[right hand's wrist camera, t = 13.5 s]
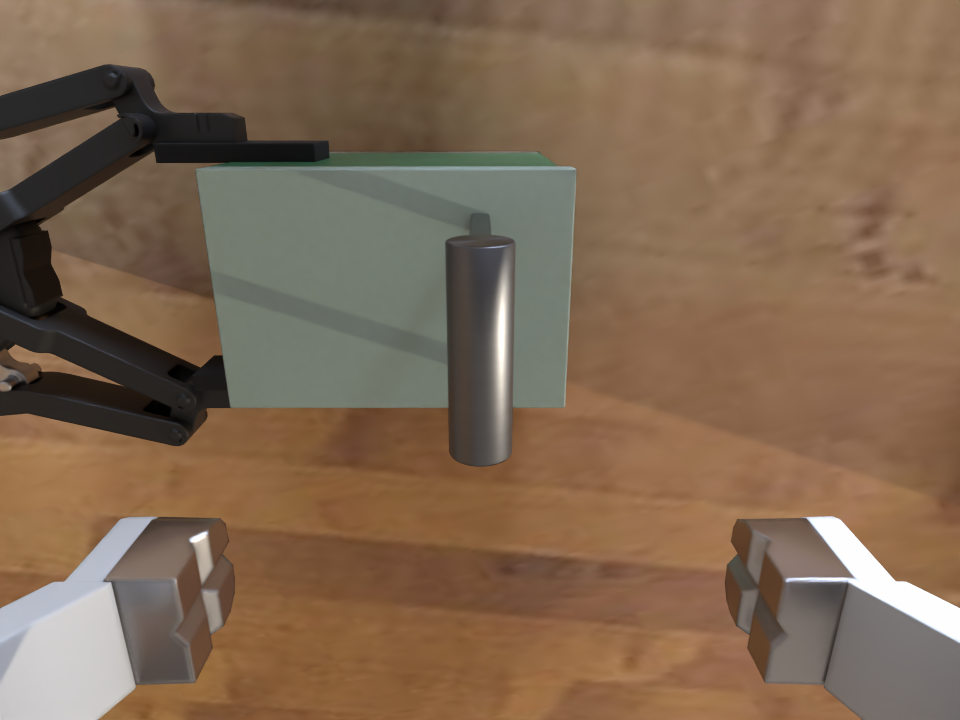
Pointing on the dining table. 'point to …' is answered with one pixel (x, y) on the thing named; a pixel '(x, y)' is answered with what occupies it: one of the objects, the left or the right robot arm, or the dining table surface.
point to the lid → (395, 290)
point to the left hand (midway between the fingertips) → (331, 268)
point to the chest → (413, 160)
